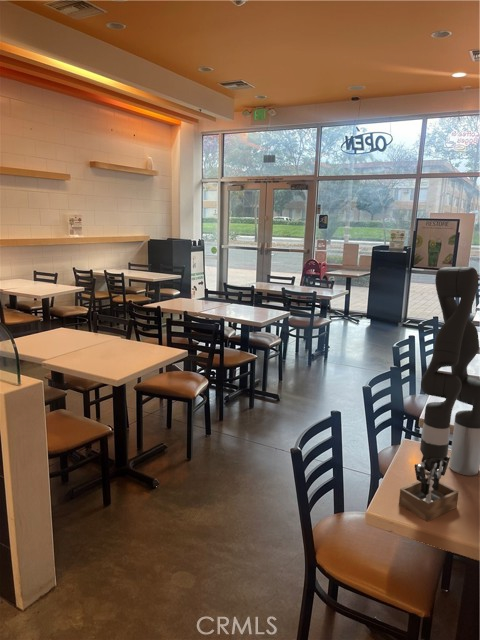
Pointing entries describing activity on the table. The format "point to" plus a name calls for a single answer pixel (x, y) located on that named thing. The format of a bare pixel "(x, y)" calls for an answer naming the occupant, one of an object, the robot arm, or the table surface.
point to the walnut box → (441, 503)
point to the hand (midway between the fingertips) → (429, 491)
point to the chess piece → (428, 496)
